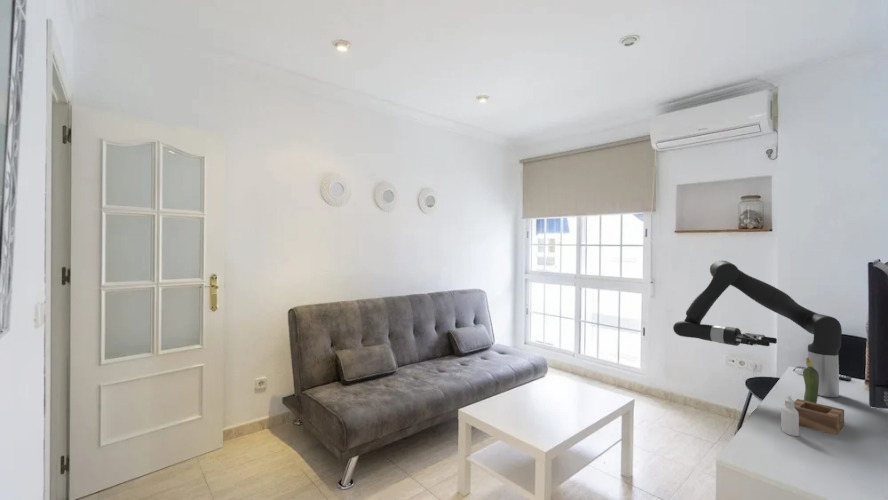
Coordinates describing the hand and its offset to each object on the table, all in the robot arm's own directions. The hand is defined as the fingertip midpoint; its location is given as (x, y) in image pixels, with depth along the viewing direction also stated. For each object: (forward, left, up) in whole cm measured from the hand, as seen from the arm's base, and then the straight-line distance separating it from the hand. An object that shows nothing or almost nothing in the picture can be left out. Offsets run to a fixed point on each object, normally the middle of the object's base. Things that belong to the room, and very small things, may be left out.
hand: (773, 342), depth 153 cm
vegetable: (0, +11, -24) cm, 26 cm away
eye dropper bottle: (+30, +12, -24) cm, 40 cm away
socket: (+14, +15, -24) cm, 31 cm away
